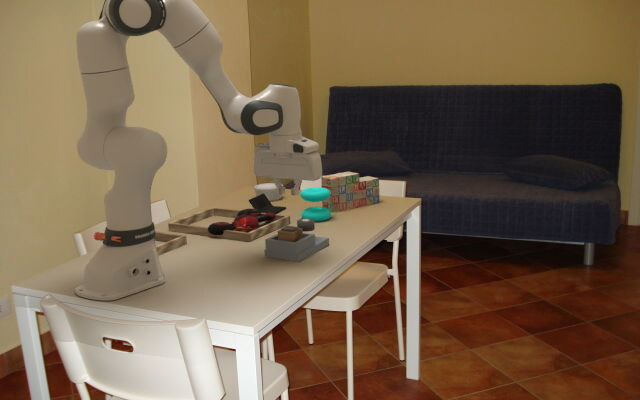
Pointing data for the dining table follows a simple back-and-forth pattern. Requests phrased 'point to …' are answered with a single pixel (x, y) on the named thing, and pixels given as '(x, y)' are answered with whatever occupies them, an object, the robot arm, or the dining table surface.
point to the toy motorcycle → (241, 222)
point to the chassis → (294, 247)
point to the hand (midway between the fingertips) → (288, 194)
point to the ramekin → (268, 191)
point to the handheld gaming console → (265, 205)
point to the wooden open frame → (184, 227)
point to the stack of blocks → (349, 191)
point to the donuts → (315, 196)
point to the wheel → (306, 224)
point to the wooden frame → (169, 241)
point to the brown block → (290, 234)
